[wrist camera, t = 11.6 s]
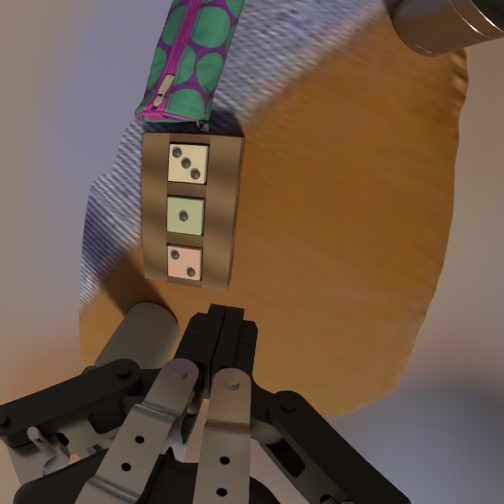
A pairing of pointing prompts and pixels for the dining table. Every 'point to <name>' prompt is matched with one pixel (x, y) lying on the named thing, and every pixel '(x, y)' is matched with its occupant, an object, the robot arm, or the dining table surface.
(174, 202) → the button one dot
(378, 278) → the dining table surface
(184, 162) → the button three dots
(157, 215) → the button panel
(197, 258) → the button two dots
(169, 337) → the water bottle
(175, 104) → the pencil case
